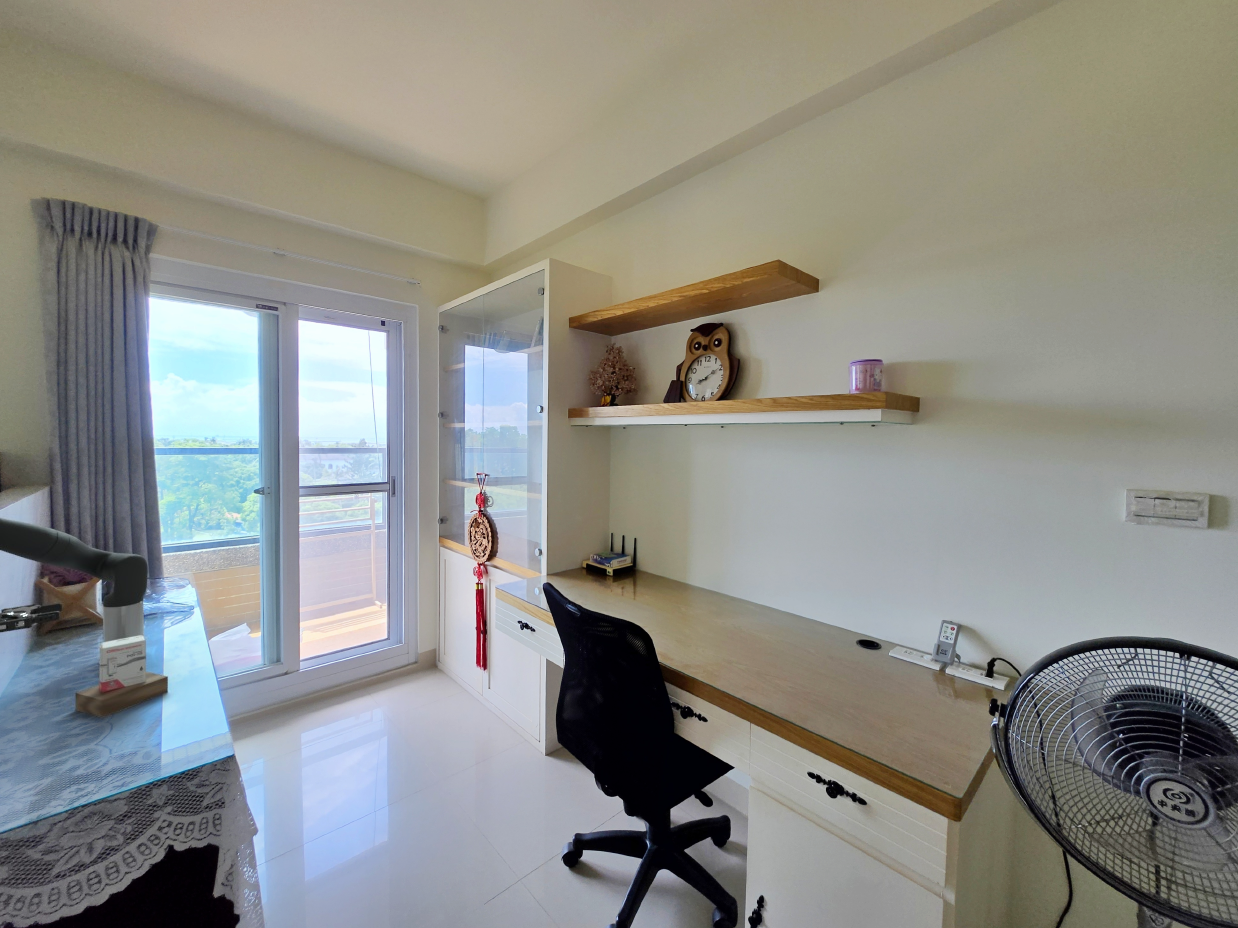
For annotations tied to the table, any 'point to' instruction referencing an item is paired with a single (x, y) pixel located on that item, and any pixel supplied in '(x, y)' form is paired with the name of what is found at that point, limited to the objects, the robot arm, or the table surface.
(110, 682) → the ink box
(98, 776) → the table surface
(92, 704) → the walnut block
